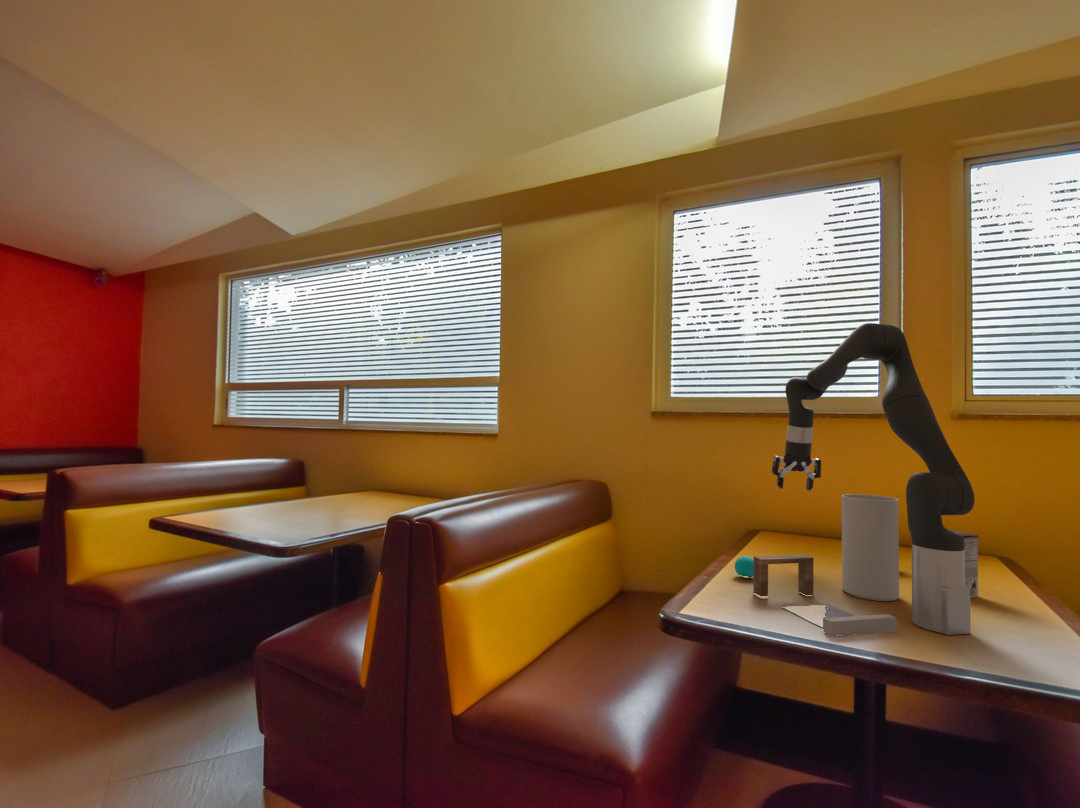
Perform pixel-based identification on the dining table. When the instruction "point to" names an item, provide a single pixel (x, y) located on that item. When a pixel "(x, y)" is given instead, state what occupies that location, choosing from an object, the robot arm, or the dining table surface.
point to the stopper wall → (859, 625)
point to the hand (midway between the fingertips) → (794, 489)
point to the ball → (745, 566)
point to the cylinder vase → (870, 547)
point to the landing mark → (835, 612)
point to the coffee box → (971, 562)
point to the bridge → (803, 563)
